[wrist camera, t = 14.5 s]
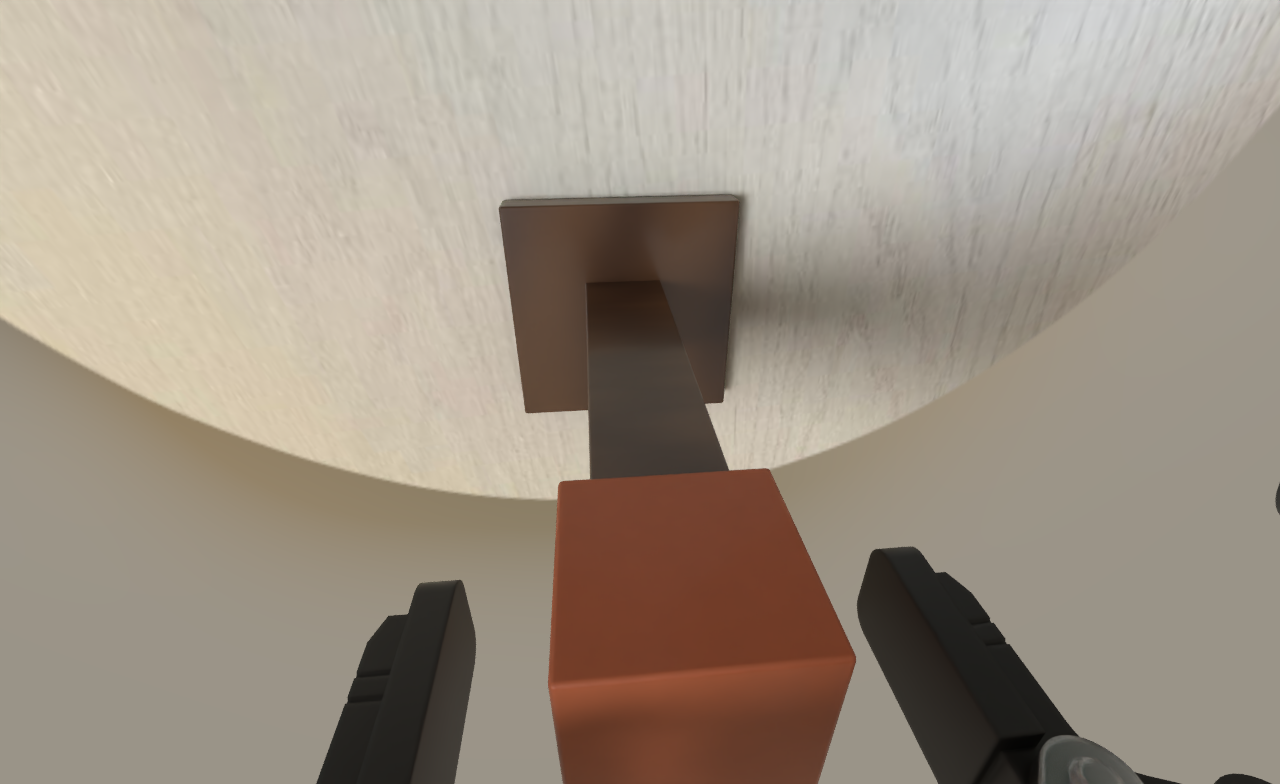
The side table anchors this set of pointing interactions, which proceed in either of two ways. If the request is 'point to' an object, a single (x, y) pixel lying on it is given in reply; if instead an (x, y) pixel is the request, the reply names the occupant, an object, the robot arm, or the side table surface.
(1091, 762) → the robot arm
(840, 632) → the block
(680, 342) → the stand
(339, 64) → the side table surface
